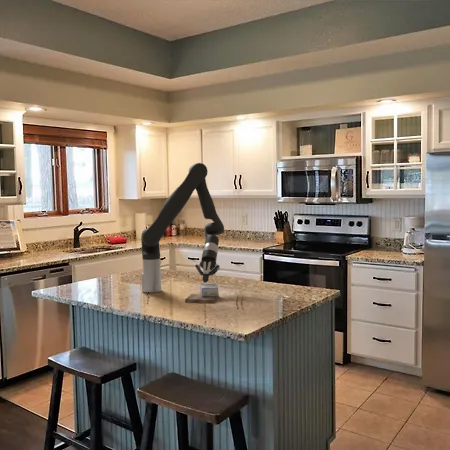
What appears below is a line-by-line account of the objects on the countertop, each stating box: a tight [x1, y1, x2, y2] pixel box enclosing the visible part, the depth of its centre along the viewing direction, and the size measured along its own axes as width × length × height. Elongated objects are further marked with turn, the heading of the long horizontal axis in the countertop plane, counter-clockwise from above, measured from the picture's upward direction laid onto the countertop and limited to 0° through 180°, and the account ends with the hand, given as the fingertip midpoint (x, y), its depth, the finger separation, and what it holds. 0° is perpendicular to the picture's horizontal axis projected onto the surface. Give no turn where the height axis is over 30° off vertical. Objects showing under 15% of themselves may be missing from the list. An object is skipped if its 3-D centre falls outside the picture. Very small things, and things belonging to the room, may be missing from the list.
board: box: [184, 293, 220, 304], centre depth 237 cm, size 14×11×2 cm
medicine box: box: [199, 283, 219, 297], centre depth 241 cm, size 8×4×9 cm
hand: (205, 281), depth 243 cm, fingers closed
